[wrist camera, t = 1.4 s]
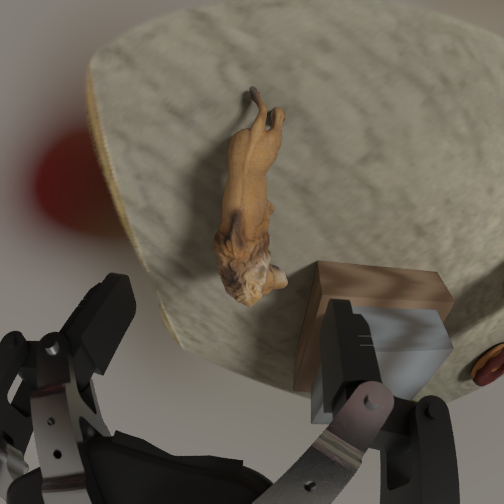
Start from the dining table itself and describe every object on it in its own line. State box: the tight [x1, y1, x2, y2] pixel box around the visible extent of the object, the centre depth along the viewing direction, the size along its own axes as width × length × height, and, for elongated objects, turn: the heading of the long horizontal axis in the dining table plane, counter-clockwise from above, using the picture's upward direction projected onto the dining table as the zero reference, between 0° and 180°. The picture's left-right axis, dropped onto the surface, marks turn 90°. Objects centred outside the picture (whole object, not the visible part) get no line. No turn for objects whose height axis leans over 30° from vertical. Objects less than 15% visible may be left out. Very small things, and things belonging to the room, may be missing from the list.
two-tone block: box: [293, 261, 455, 424], centre depth 26 cm, size 14×16×10 cm
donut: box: [471, 343, 504, 386], centre depth 31 cm, size 10×10×4 cm
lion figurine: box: [213, 86, 288, 308], centre depth 19 cm, size 15×5×9 cm, turn 3°
